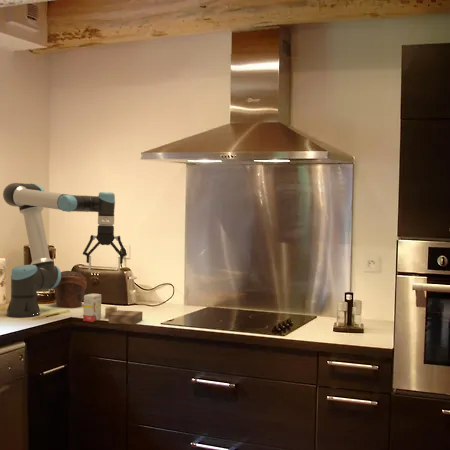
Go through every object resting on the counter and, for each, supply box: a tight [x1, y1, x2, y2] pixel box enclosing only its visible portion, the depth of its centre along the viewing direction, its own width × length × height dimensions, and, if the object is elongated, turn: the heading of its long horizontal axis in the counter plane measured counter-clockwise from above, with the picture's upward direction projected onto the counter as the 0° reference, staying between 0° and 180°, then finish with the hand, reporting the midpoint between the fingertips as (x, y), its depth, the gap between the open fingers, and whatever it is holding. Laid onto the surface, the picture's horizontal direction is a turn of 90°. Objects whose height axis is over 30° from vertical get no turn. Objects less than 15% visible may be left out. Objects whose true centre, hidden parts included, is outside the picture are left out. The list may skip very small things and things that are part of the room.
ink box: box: [82, 293, 102, 323], centre depth 290 cm, size 9×5×12 cm, turn 162°
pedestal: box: [108, 309, 144, 326], centre depth 288 cm, size 12×12×4 cm
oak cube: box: [104, 306, 118, 320], centre depth 298 cm, size 5×5×5 cm
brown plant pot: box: [53, 270, 88, 309], centre depth 329 cm, size 18×20×18 cm
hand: (104, 270), depth 294 cm, fingers open, 13 cm apart
